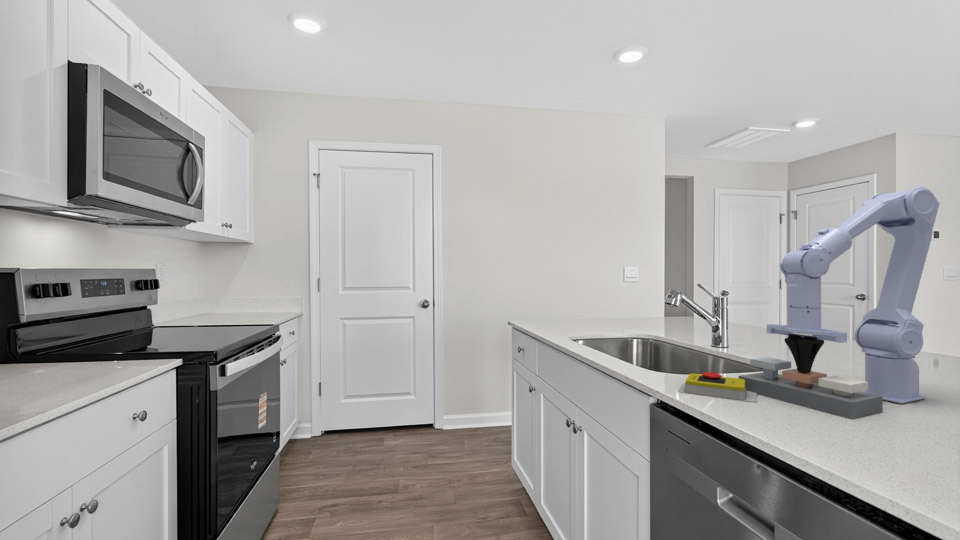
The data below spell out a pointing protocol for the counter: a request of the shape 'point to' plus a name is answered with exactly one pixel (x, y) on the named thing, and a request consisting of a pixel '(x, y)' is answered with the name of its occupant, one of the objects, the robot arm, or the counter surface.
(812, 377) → the terracotta key
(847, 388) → the ivory key
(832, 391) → the key console
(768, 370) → the slate key
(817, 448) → the counter surface
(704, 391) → the emergency button
